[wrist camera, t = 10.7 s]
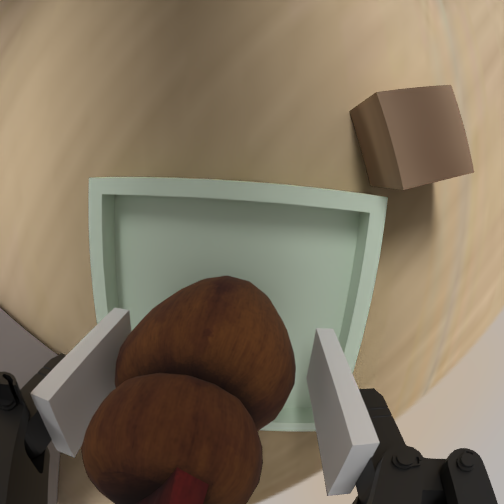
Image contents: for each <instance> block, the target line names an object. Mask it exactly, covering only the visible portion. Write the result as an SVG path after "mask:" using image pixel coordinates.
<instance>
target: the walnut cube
mask: <svg viewBox="0 0 504 504" xmlns="http://www.w3.org/2000/svg"><path fill="white" fill-rule="evenodd" d="M349 112H350V115H351V118H352V121H353V124H354V127H355V131H356V134H357V137H358V141H359V144H360V148H361V151H362V155H363V159H364V162H365V166H366V170H367V174H368V178H369V182H370V186H374V187H383V188H391V189H399V190H406V189H410V188H414V187H418V186H421V185H425V184H429V183H433V182H437V181H441V180H445V179H449V178H453V177H457V176H461V175H465V174H469V173H474V169H473V164H472V159H471V154H470V150H469V145H468V141H467V137H466V133H465V129H464V125H463V122H462V118H461V115H460V111H459V108H458V105H457V101H456V98H455V95H454V92H453V89H452V86H451V85H443V86H428V87H417V88H407V89H398V90H390V91H382V92H376V93H375V94H373V95H372V96H370V97H369V98H367V99H366V100H365V101H363V102H362V103H360V104H359V105H358V106H356V107H355V108H353V109H352V110H351V111H349Z"/></svg>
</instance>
